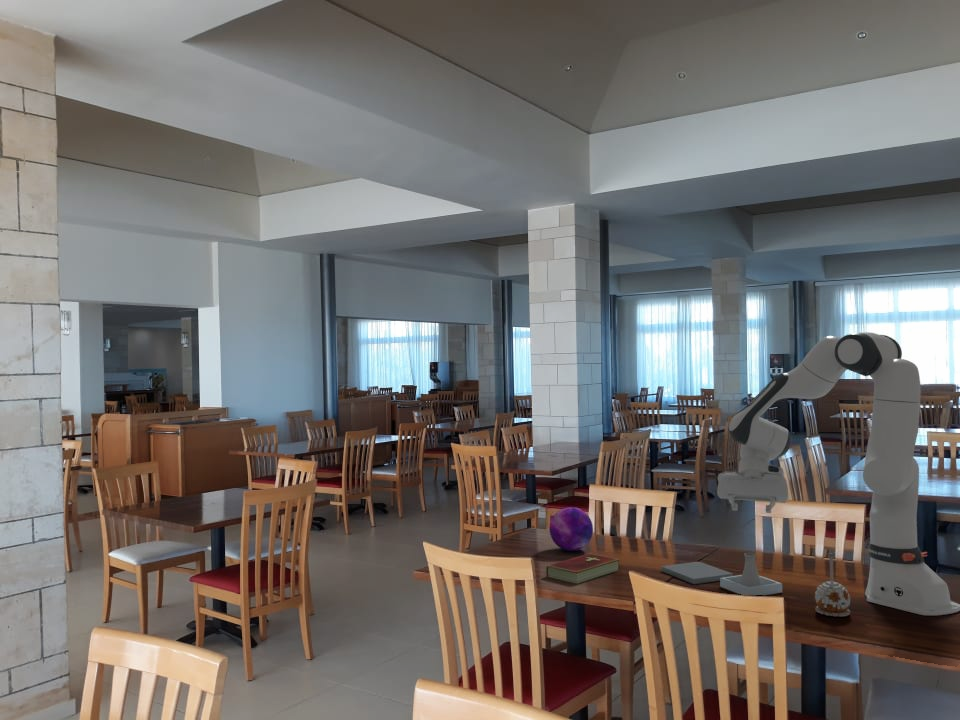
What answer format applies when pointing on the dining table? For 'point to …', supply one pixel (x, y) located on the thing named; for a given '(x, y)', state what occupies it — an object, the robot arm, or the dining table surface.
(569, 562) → the hardcover book
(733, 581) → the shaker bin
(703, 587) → the dining table surface
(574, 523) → the decorative orb
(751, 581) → the flask
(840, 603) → the decorative ornament
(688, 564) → the slate board
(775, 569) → the dining table surface
